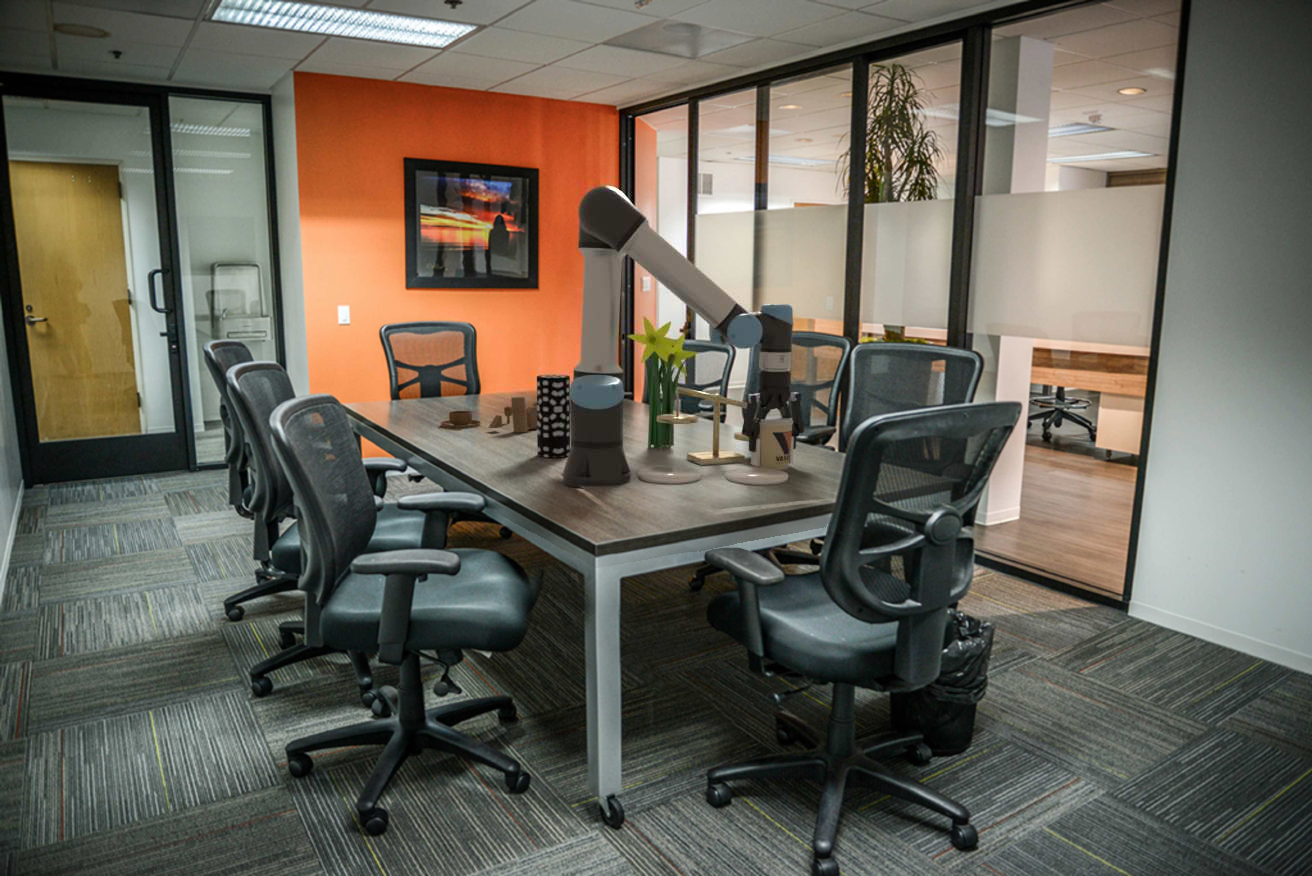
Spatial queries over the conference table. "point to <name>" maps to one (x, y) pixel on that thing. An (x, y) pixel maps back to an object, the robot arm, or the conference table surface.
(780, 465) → the coffee cup
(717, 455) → the balance
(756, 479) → the dish
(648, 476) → the disc
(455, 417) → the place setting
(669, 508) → the conference table surface
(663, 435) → the daffodil flowers
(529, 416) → the wooden block set
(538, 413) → the spotted tube
